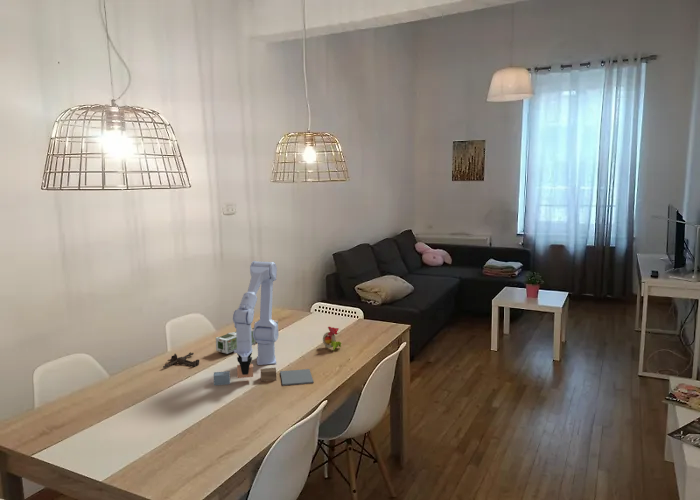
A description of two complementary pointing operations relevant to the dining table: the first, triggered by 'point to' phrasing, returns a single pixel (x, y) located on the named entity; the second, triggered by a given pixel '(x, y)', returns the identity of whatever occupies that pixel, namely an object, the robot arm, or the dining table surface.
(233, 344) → the green white framed bar
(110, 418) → the dining table surface
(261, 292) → the robot arm
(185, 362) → the dark action figure
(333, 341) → the bird rattle
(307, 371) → the grey flat square slab
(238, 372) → the terracotta brick
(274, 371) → the walnut brick
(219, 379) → the slate blue brick
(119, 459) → the dining table surface
